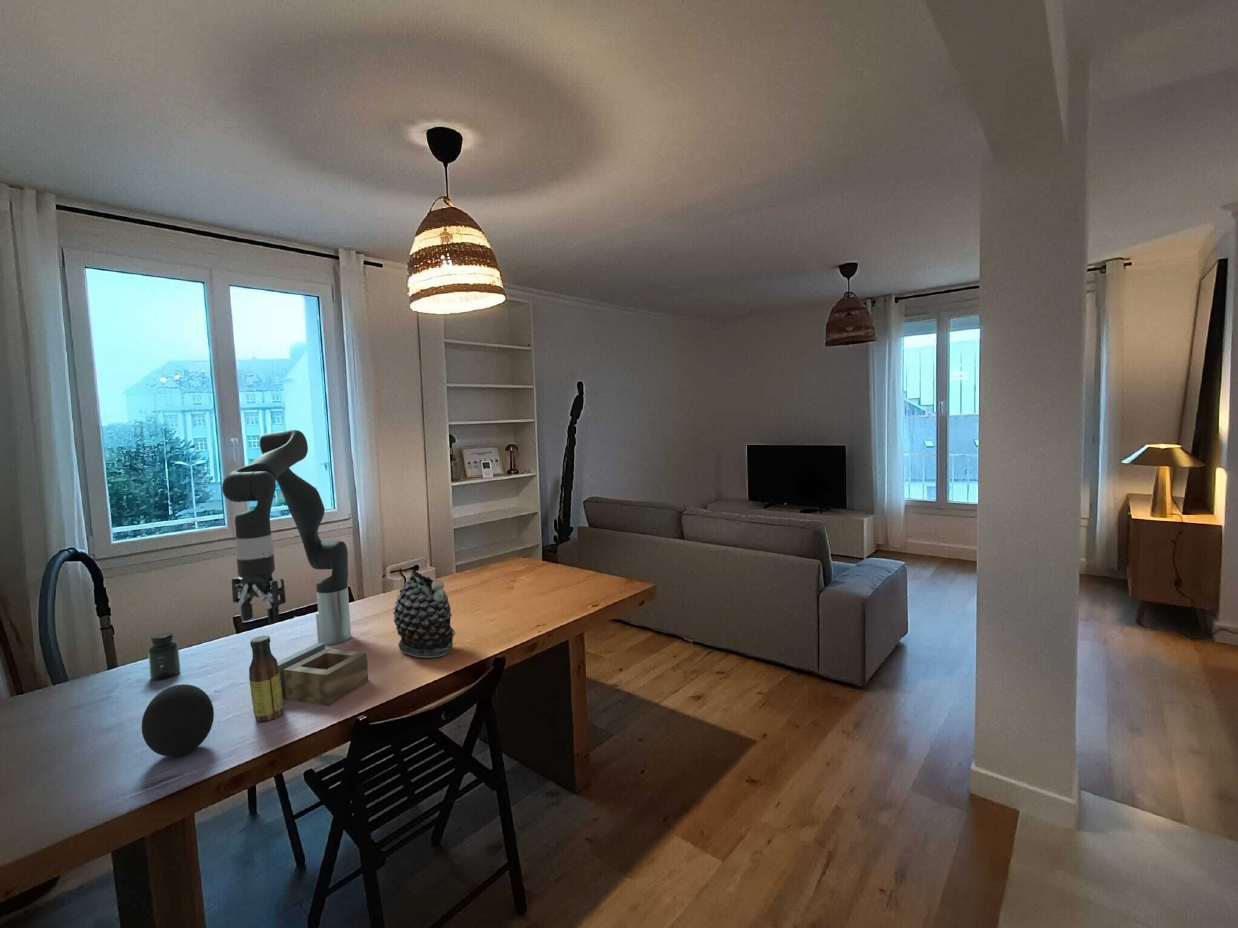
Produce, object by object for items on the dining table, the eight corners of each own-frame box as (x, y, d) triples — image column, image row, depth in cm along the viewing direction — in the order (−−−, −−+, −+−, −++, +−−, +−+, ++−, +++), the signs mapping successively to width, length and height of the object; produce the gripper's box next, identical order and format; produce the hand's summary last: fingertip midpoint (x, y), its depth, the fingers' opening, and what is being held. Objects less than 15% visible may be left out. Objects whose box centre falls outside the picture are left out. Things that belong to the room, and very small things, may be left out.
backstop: (271, 699, 147) (268, 665, 146) (320, 672, 162) (318, 642, 161) (278, 700, 146) (275, 666, 145) (327, 673, 161) (324, 643, 160)
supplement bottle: (145, 682, 160) (141, 641, 159) (158, 672, 166) (154, 632, 165) (173, 678, 162) (169, 637, 161) (184, 668, 168) (181, 629, 167)
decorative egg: (223, 750, 124) (217, 684, 123) (151, 777, 114) (144, 706, 113) (208, 731, 132) (203, 669, 131) (140, 755, 123) (133, 688, 122)
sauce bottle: (278, 707, 142) (272, 630, 141) (288, 714, 138) (282, 636, 137) (248, 718, 137) (242, 638, 136) (258, 726, 133) (251, 644, 132)
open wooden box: (285, 699, 146) (283, 669, 146) (328, 675, 160) (326, 648, 159) (328, 705, 142) (326, 674, 142) (368, 680, 156) (366, 652, 155)
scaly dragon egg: (467, 647, 177) (463, 569, 175) (429, 666, 164) (424, 582, 162) (422, 636, 188) (418, 563, 186) (383, 653, 175) (378, 574, 173)
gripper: (218, 557, 134) (223, 624, 135) (264, 559, 129) (269, 628, 130) (247, 550, 141) (252, 613, 142) (291, 552, 136) (296, 617, 138)
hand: (260, 620), depth 136 cm, fingers open, 8 cm apart
